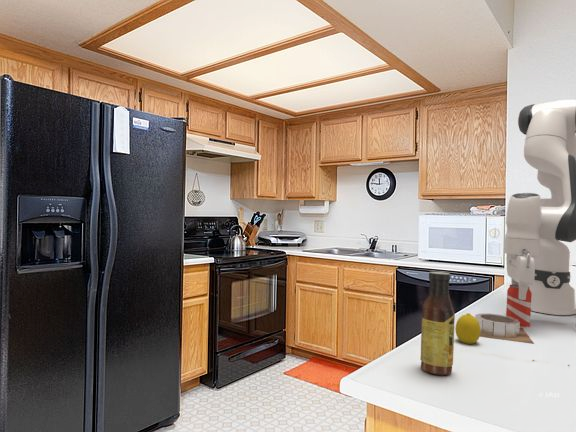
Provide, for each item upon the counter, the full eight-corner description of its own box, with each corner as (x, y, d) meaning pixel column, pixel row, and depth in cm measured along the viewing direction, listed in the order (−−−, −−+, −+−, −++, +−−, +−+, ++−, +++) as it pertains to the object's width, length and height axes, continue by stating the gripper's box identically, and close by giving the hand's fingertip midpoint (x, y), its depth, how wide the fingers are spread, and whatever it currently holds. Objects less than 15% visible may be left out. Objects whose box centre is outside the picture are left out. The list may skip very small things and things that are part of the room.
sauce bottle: (455, 378, 79) (460, 276, 79) (421, 374, 80) (426, 274, 80) (449, 366, 85) (453, 271, 85) (418, 362, 87) (422, 269, 86)
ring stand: (464, 324, 119) (464, 320, 119) (522, 331, 114) (522, 328, 114) (467, 338, 105) (467, 334, 105) (534, 347, 100) (534, 343, 100)
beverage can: (533, 331, 115) (536, 288, 114) (509, 329, 116) (511, 287, 116) (525, 325, 121) (527, 285, 120) (502, 323, 122) (504, 283, 122)
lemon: (469, 351, 95) (470, 317, 95) (449, 343, 100) (451, 311, 100) (484, 348, 98) (486, 315, 98) (465, 341, 103) (466, 309, 103)
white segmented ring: (473, 323, 116) (474, 311, 116) (514, 329, 112) (515, 316, 112) (476, 333, 106) (477, 320, 106) (521, 339, 103) (522, 325, 103)
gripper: (542, 252, 107) (539, 304, 107) (526, 247, 126) (523, 292, 126) (515, 249, 109) (512, 301, 109) (504, 245, 128) (501, 289, 128)
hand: (518, 296), depth 118 cm, fingers open, 8 cm apart
